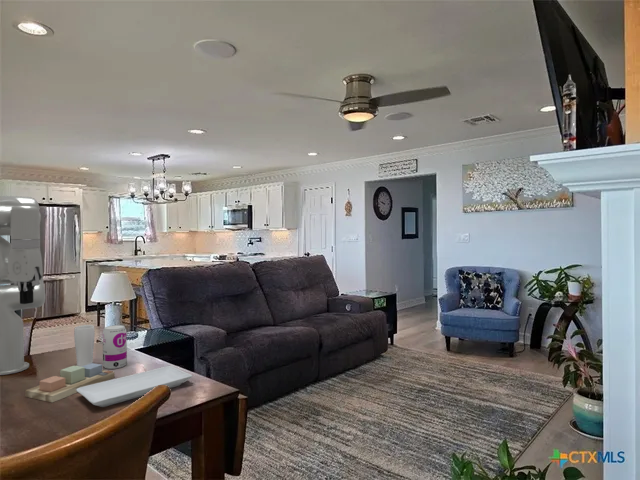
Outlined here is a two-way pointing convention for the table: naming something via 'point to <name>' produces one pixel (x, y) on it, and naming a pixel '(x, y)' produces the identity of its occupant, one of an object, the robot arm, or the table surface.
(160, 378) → the tray
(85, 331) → the drinking glass
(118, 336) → the supplement can
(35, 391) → the keypad base
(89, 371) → the key slate
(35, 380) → the table surface
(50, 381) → the key terracotta
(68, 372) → the key sage
